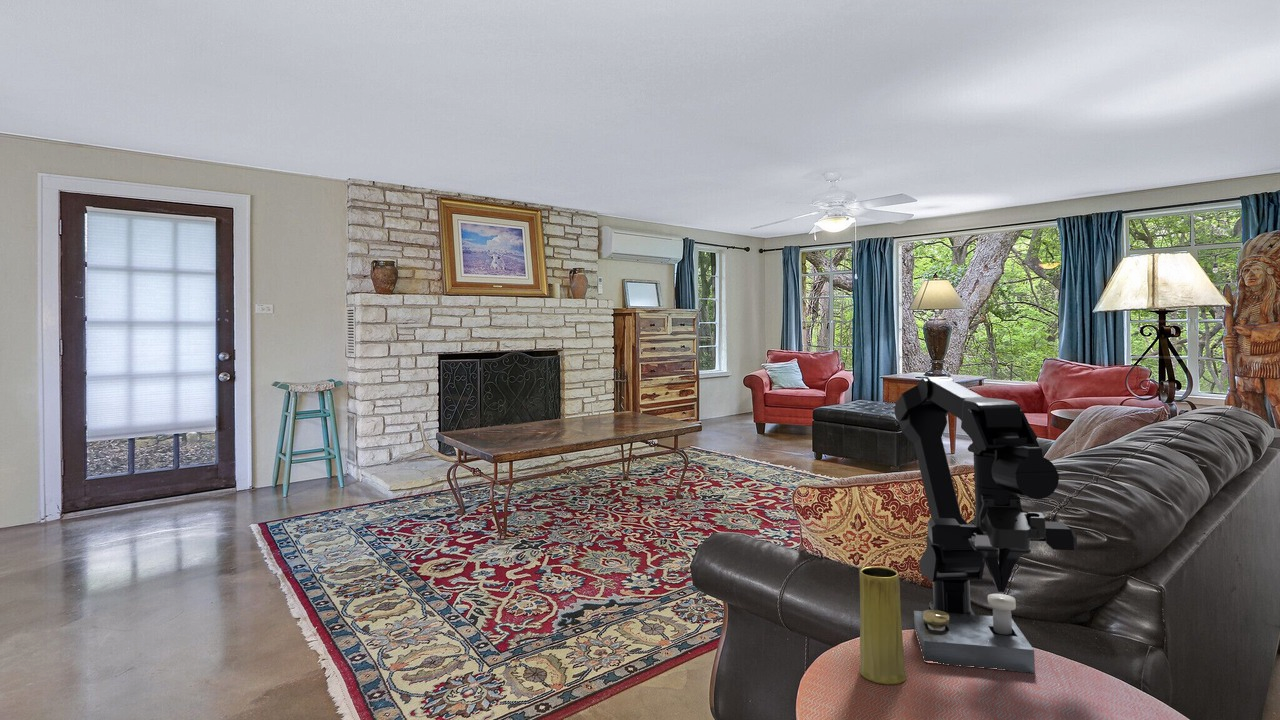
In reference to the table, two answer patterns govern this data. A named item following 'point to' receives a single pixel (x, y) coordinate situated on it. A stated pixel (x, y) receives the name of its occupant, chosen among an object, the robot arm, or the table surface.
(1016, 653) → the mount
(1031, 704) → the table surface
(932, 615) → the knob brass
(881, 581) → the vase
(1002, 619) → the knob ivory
